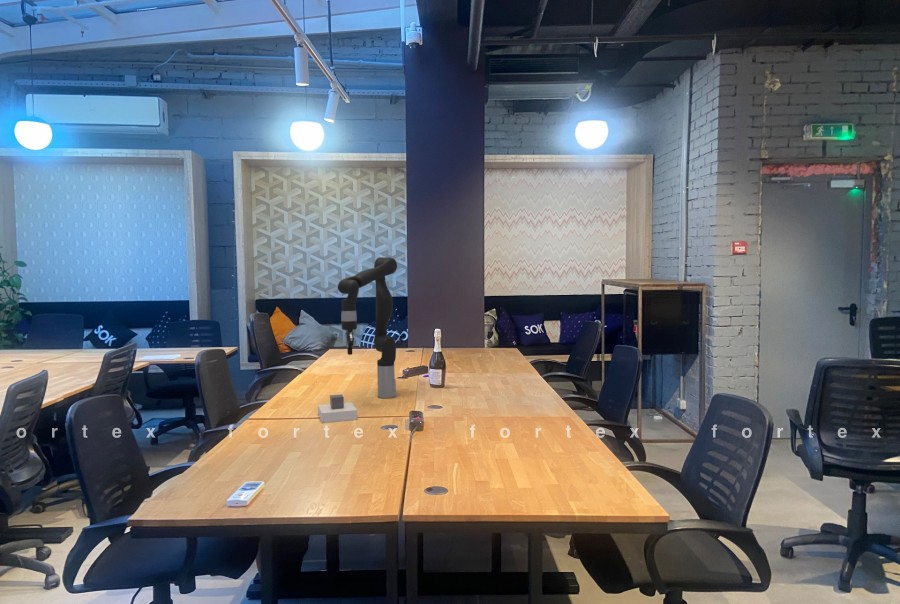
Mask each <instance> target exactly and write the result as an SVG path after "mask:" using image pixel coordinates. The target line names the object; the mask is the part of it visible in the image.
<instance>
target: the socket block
mask: <svg viewBox="0 0 900 604" xmlns="http://www.w3.org/2000/svg"><path fill="white" fill-rule="evenodd" d="M317 415H318V416H319V417H318V418H319V419H320V422H321V423H322V424H325V423H334V422H346V421H355V420H358V409H357V408H356V407H355V405H354V404H353V403H352V402H351V401H350V402H349V401H348V402H344V407H343V408H341V409H333V408H331V406H330V403H328V404H318V405H317Z"/></svg>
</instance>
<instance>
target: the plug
mask: <svg viewBox="0 0 900 604" xmlns="http://www.w3.org/2000/svg"><path fill="white" fill-rule="evenodd" d="M344 397H345V396H344V395H343V394H342V393H340V394H331V395H329V404H330V406H331V408H333V409H341V408H343V407H344V403H345V401H344V400H345V399H344Z"/></svg>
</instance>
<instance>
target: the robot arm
mask: <svg viewBox="0 0 900 604" xmlns="http://www.w3.org/2000/svg"><path fill="white" fill-rule="evenodd" d="M373 264H374V266H373V267H372V268H368V269H364V270H362V271H360V272H358V273H357V274H355V275H352V276H349V277H345V278H343V279H341V280H340V281H339V282H338V284H337V290H338V292H339V293H340V294H343V295H347V297H346V298H344V299H342V300H341V319H340V320H341V329H342V330H343V331H345V333H344V338H345V345H346V348H347V352H346V353H347V355H349V356H351V355H353V347H354V342H355V333H354V331H353V330H355V331H356V330H357V329H358V321H357V319H358V315H357V299H358V295H359V290H360V288H363V287H365V286H367V285H368V284H370V283H372V282H374V281H375V327H374V328H375V329H374V337H373V344H374V345H373V347H374V348H375V350H376V351H377V352H379V353H381V358H379V359H377V361H376V363H377V364H376V365H377V366H376V367H377V368H376V370H377V397H378V398H380V399H391V398H396V397H397V385H396V381H397V380H396V378H395V376H396V375H395V363H396V358H397V342H396V339H395V338H394V337H393V336H390V335H388V325H389V322H390V319H391V317H392V314H393V312H394V311H393V309H394V303H393V302H394V299H393V296H392V293H391V292H390V289H389V288H388V286H387V282H386V276H387V277H388V276H390V275H393V274H394V273H395V272H396V271H397V269H398V263H397V260H396V259H395V258H393V257H387V256H386V257H377V258H376V259H375V261H374V263H373Z"/></svg>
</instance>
